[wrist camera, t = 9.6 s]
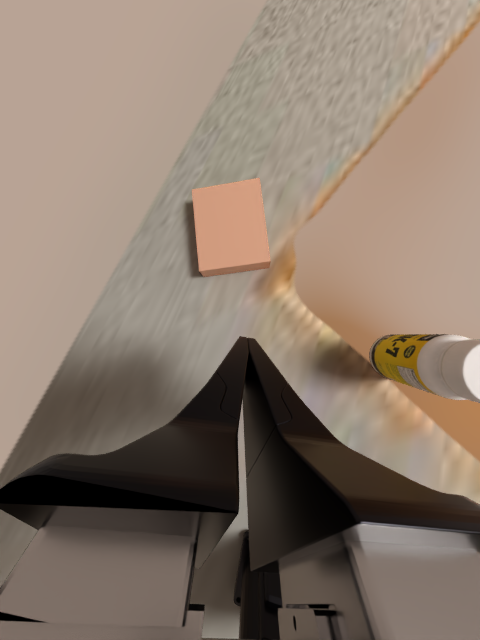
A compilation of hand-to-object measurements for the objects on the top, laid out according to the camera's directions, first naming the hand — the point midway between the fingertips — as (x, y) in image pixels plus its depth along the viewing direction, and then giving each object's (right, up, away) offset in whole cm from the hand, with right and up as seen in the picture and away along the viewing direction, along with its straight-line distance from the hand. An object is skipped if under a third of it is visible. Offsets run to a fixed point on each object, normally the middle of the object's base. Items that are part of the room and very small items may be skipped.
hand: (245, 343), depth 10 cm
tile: (-1, +7, +11) cm, 13 cm away
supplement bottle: (+16, -3, +9) cm, 19 cm away
